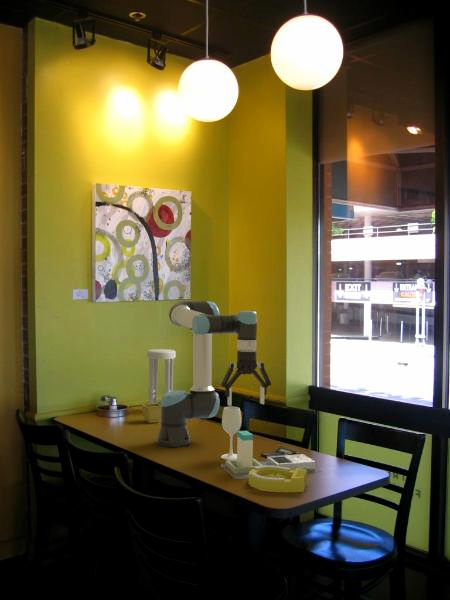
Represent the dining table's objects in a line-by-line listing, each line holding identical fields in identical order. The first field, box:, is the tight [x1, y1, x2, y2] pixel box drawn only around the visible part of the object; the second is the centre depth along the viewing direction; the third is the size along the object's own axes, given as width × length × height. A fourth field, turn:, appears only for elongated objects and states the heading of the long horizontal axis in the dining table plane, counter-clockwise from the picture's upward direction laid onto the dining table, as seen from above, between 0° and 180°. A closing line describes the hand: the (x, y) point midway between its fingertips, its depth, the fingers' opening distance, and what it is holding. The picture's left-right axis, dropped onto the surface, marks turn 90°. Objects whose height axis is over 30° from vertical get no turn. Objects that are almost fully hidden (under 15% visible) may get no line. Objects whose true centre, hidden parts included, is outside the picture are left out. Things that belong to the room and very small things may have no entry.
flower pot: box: [141, 402, 161, 424], centre depth 326 cm, size 9×9×9 cm
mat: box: [219, 460, 323, 480], centre depth 246 cm, size 36×19×1 cm, turn 108°
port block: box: [266, 453, 316, 471], centre depth 247 cm, size 16×11×4 cm
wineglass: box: [220, 406, 242, 460], centre depth 262 cm, size 9×9×21 cm
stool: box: [146, 348, 177, 404], centre depth 351 cm, size 16×16×35 cm
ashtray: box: [248, 465, 308, 493], centre depth 227 cm, size 16×21×5 cm
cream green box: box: [236, 430, 254, 467], centre depth 246 cm, size 4×7×14 cm, turn 18°
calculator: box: [260, 446, 297, 458], centre depth 264 cm, size 9×12×3 cm
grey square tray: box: [225, 458, 263, 474], centre depth 246 cm, size 12×11×2 cm
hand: (245, 404), depth 245 cm, fingers open, 13 cm apart
